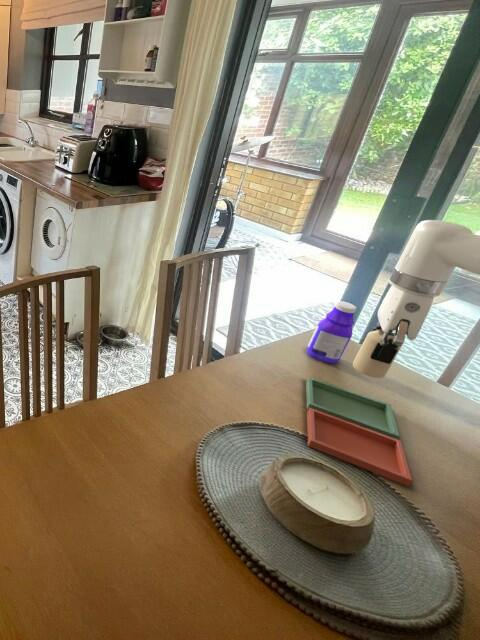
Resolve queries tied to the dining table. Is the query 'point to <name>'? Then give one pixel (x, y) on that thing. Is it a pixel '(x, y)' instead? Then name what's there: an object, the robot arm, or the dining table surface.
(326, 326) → the bottle
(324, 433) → the tray terracotta
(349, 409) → the tray sage
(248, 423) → the dining table surface
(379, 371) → the candle
